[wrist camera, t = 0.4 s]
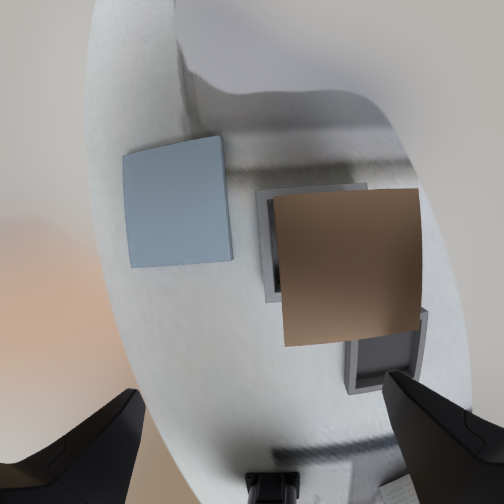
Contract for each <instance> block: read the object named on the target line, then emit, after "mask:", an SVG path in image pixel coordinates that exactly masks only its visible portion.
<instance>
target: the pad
mask: <svg viewBox="0 0 504 504" xmlns="http://www.w3.org/2000/svg"><path fill="white" fill-rule="evenodd" d="M123 188H124V205H125V218H126V229H127V239H128V248H129V256H130V264H131V268H142V267H156V266H169V265H183V264H196V263H210V262H223V261H232V260H233V250H232V240H231V230H230V220H229V209H228V198H227V187H226V176H225V164H224V152H223V140H222V138H221V136H220V135H219V136H212V137H206V138H201V139H195V140H190V141H185V142H180V143H175V144H170V145H165V146H161V147H156V148H152V149H148V150H144V151H140V152H136V153H132V154H128V155H124V156H123Z"/></svg>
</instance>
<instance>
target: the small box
mask: <svg viewBox="0 0 504 504" xmlns="http://www.w3.org/2000/svg"><path fill="white" fill-rule="evenodd" d="M379 489H380V493H381V496H382V499H383V503H384V504H419V500H418V497H417V494H416V491H415V488H414V486H413V483H412V480H411V477H410V474H407V475H405V476H403V477H401V478H399V479H397V480H395V481H392V482H390V483H388V484H386V485H383V486H381V487H380V488H379Z"/></svg>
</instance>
